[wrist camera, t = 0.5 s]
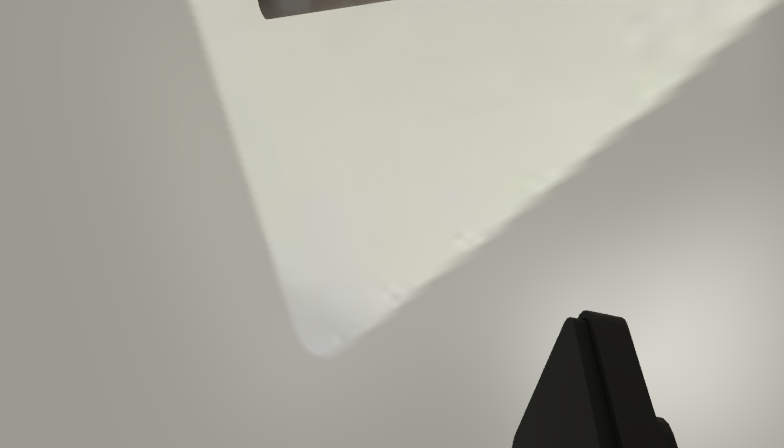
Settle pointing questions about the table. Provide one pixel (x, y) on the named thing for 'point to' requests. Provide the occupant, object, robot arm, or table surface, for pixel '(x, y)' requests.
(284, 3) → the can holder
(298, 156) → the table surface
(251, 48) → the table surface
